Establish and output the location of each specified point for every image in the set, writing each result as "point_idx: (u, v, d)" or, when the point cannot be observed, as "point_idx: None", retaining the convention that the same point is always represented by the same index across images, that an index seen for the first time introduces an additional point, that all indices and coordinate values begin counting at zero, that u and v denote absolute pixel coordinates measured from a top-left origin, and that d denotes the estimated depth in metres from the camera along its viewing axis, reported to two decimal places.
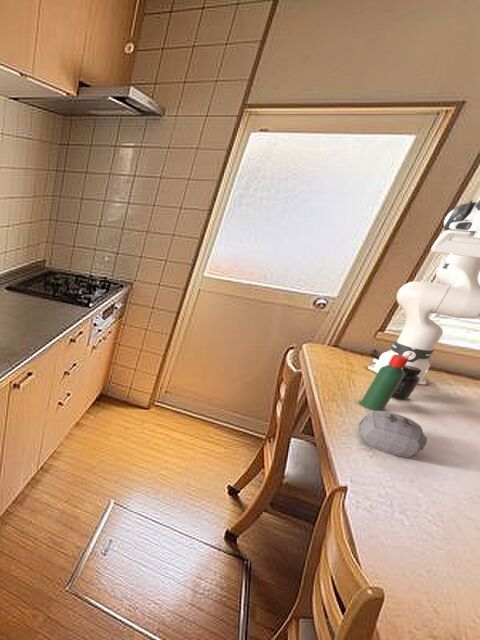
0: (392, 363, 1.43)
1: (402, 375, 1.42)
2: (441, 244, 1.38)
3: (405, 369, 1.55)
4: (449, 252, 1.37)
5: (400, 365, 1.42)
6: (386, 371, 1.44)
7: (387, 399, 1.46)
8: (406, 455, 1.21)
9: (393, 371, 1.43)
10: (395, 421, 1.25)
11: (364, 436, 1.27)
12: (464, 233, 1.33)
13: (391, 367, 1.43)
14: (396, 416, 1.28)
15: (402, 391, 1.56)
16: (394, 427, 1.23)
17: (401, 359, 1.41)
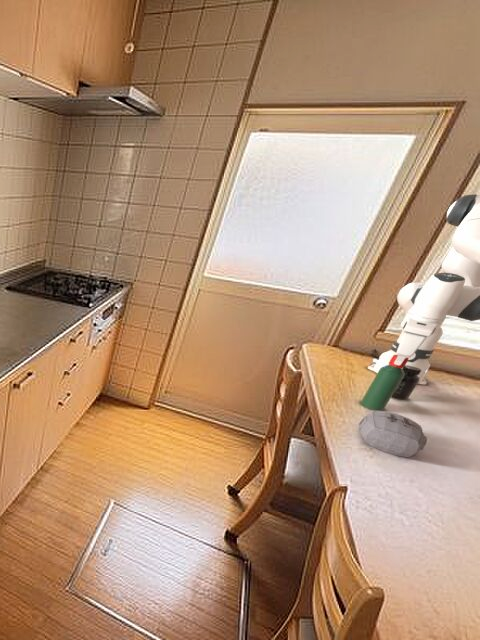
0: (392, 363, 1.43)
1: (402, 375, 1.42)
2: None
3: (405, 369, 1.55)
4: None
5: (400, 365, 1.42)
6: (386, 371, 1.44)
7: (387, 399, 1.46)
8: (406, 455, 1.21)
9: (393, 371, 1.43)
10: (395, 421, 1.25)
11: (364, 436, 1.27)
12: None
13: (391, 367, 1.43)
14: (396, 416, 1.28)
15: (402, 391, 1.56)
16: (394, 427, 1.23)
17: None
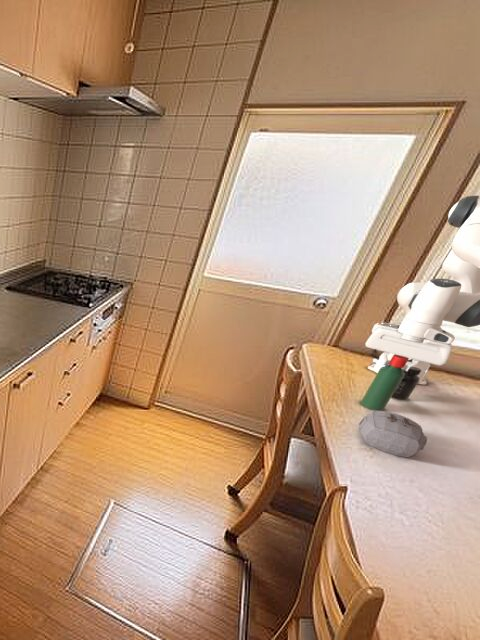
0: (403, 365, 1.41)
1: (402, 375, 1.42)
2: None
3: None
4: None
5: None
6: (386, 371, 1.44)
7: (387, 399, 1.46)
8: (406, 455, 1.21)
9: (393, 371, 1.42)
10: (395, 421, 1.25)
11: (364, 436, 1.27)
12: None
13: (391, 367, 1.43)
14: (396, 416, 1.28)
15: (402, 391, 1.56)
16: (394, 427, 1.23)
17: None
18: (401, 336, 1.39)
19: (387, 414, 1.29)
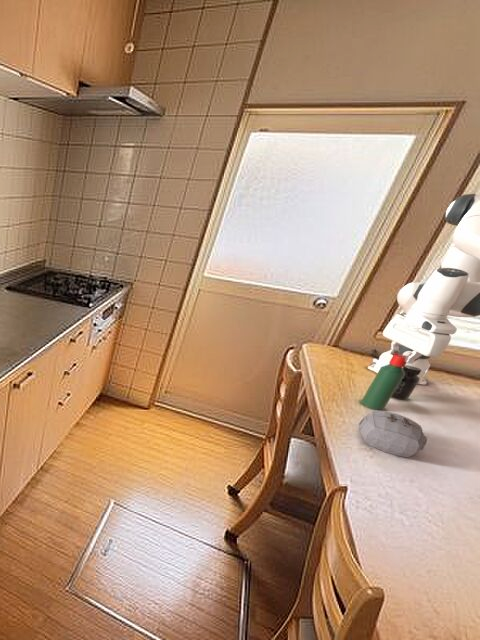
0: (403, 365, 1.42)
1: (402, 374, 1.42)
2: None
3: (405, 369, 1.55)
4: None
5: None
6: (386, 370, 1.44)
7: (387, 398, 1.47)
8: (406, 455, 1.21)
9: (393, 370, 1.43)
10: (395, 421, 1.25)
11: (364, 436, 1.27)
12: None
13: (391, 366, 1.44)
14: (396, 416, 1.28)
15: (402, 391, 1.56)
16: (394, 427, 1.23)
17: None
18: (406, 325, 1.40)
19: (387, 414, 1.29)
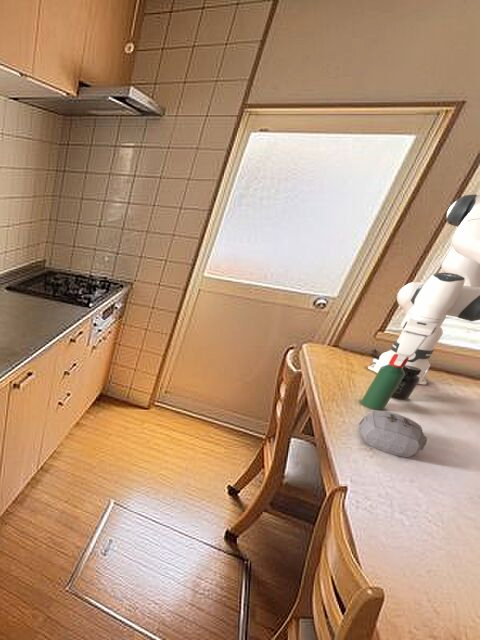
0: (403, 365, 1.41)
1: (402, 375, 1.42)
2: None
3: (405, 369, 1.55)
4: None
5: None
6: (386, 371, 1.44)
7: (387, 398, 1.46)
8: (406, 455, 1.21)
9: (393, 371, 1.43)
10: (395, 421, 1.25)
11: (364, 436, 1.27)
12: (427, 336, 1.33)
13: (391, 367, 1.43)
14: (396, 416, 1.28)
15: (402, 391, 1.56)
16: (394, 427, 1.23)
17: None
18: None
19: (387, 414, 1.29)
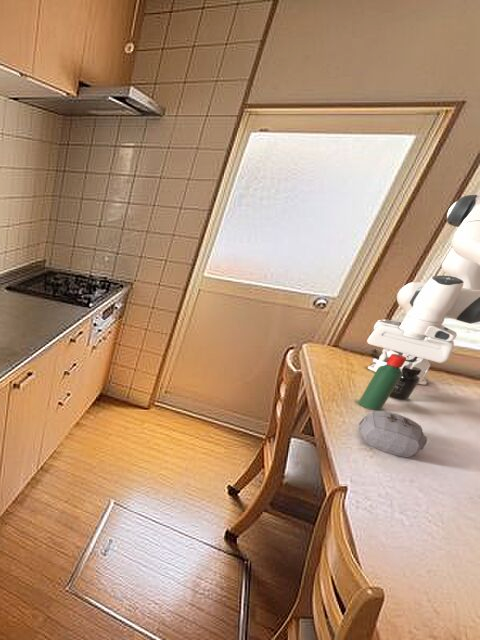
0: None
1: None
2: None
3: (405, 369, 1.55)
4: None
5: None
6: (399, 374, 1.42)
7: None
8: (406, 455, 1.21)
9: None
10: (395, 421, 1.25)
11: (364, 436, 1.27)
12: None
13: (398, 369, 1.43)
14: (396, 416, 1.28)
15: (402, 391, 1.56)
16: (394, 427, 1.23)
17: None
18: (402, 333, 1.39)
19: (387, 414, 1.29)
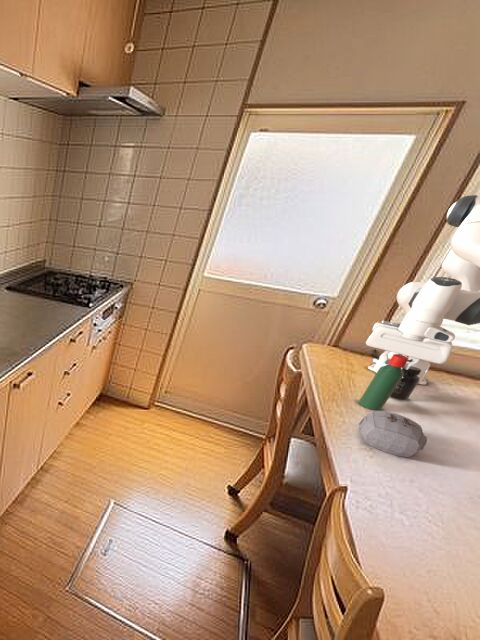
0: None
1: None
2: None
3: (405, 369, 1.55)
4: None
5: (390, 361, 1.43)
6: (401, 375, 1.42)
7: None
8: (406, 455, 1.21)
9: (402, 372, 1.42)
10: (395, 421, 1.25)
11: (364, 436, 1.27)
12: None
13: (400, 369, 1.42)
14: (396, 416, 1.28)
15: (402, 391, 1.56)
16: (394, 427, 1.23)
17: (393, 355, 1.43)
18: (401, 335, 1.39)
19: (387, 414, 1.29)
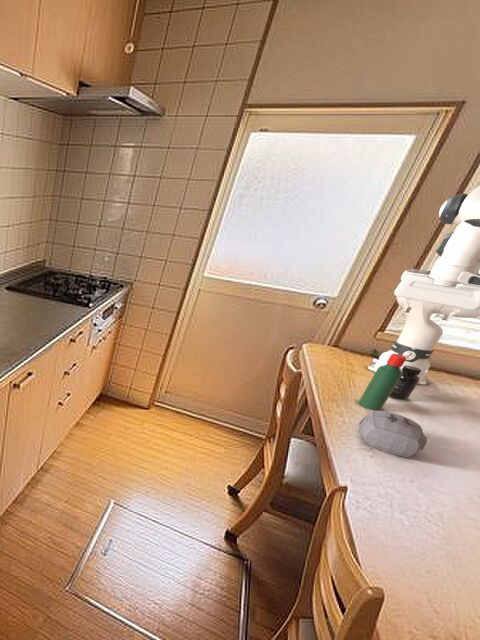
0: None
1: None
2: None
3: (405, 369, 1.55)
4: None
5: (388, 361, 1.44)
6: (399, 374, 1.42)
7: None
8: (406, 455, 1.21)
9: None
10: (395, 421, 1.25)
11: (364, 436, 1.27)
12: None
13: (398, 369, 1.43)
14: (396, 416, 1.28)
15: (402, 391, 1.56)
16: (394, 427, 1.23)
17: (391, 355, 1.43)
18: (432, 282, 1.34)
19: (387, 414, 1.29)
